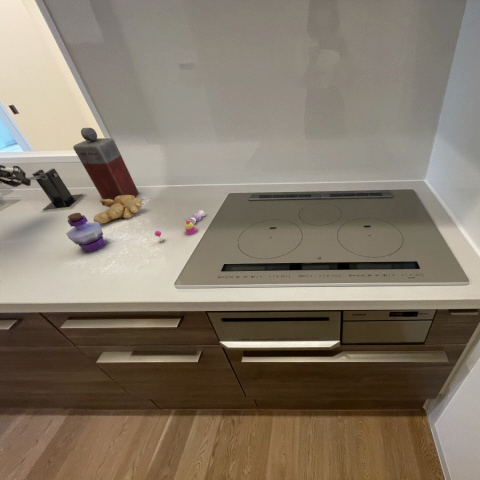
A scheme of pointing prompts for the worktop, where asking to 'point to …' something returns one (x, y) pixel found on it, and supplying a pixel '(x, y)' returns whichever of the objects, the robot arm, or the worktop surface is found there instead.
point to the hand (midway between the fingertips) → (22, 183)
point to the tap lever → (41, 176)
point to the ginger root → (118, 208)
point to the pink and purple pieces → (189, 223)
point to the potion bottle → (85, 233)
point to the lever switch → (56, 190)
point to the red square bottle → (105, 165)
